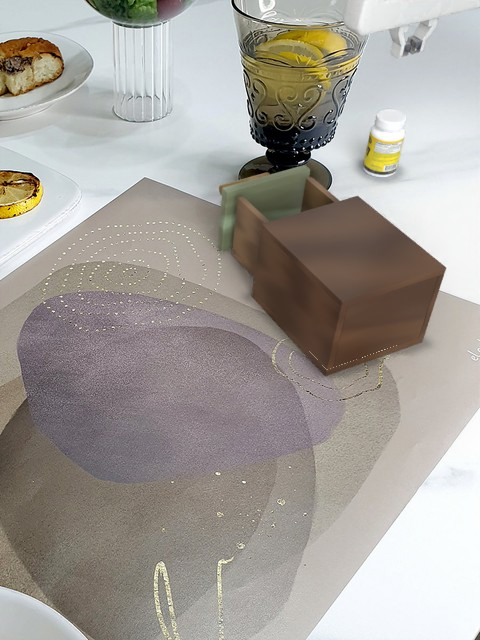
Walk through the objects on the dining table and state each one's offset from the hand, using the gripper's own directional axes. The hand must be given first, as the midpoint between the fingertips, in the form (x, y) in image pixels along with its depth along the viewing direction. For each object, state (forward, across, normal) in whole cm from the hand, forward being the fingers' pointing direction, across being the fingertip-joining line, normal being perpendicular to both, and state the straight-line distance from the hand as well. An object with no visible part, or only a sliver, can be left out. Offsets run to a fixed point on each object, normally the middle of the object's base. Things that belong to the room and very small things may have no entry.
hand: (406, 53), depth 112 cm
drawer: (+16, -25, -12) cm, 32 cm away
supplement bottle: (+17, 0, 0) cm, 17 cm away
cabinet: (+17, -25, -25) cm, 39 cm away
